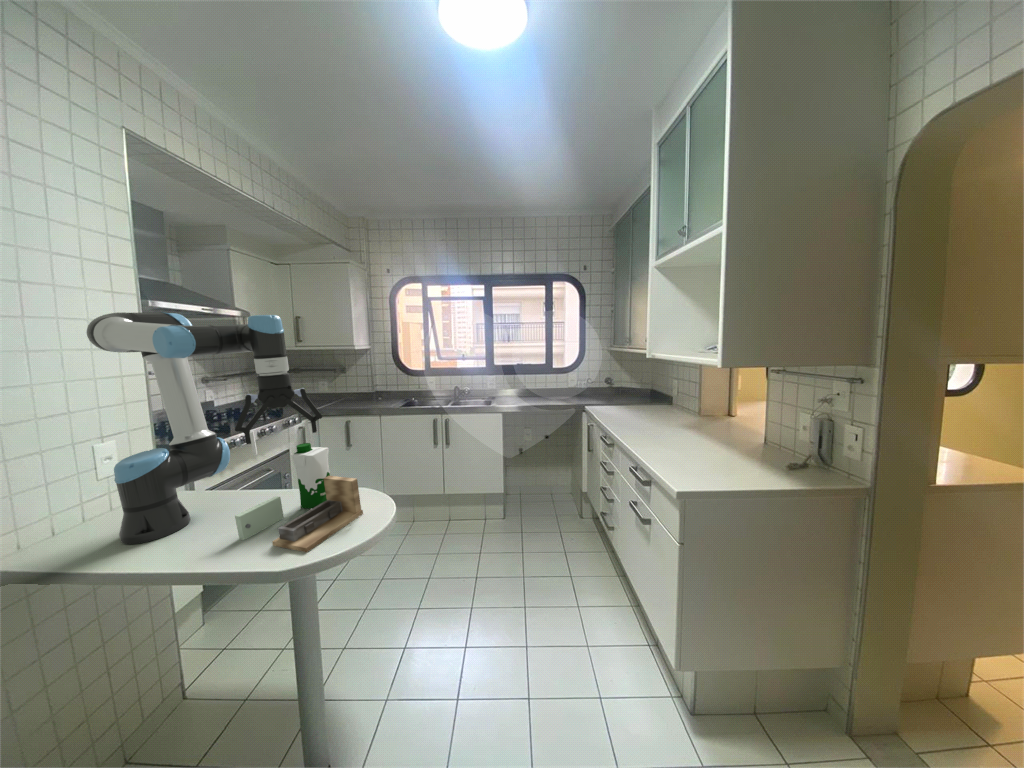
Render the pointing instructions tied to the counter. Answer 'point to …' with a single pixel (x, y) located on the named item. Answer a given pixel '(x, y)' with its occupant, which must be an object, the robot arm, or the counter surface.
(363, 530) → the counter surface
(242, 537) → the pale green rectangular block
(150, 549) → the counter surface
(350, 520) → the wooden stand with tray
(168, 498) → the robot arm
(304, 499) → the milk carton
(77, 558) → the counter surface
